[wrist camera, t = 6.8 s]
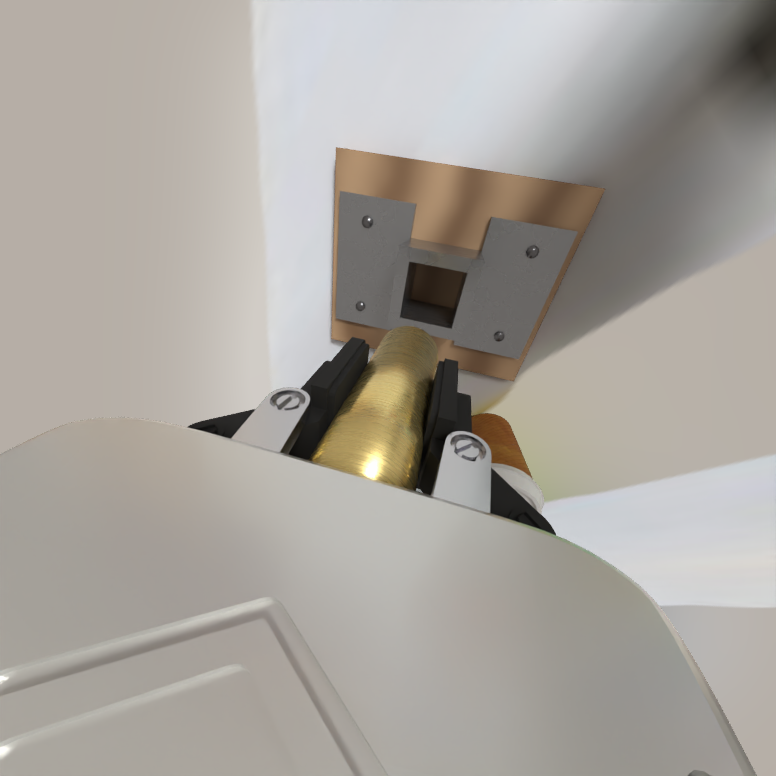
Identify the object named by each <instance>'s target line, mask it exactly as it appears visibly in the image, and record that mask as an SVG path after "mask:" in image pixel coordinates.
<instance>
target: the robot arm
mask: <svg viewBox="0 0 776 776" xmlns="http://www.w3.org/2000/svg"><path fill="white" fill-rule="evenodd" d="M368 354H369V344H366V341H365V340H364V339H359V338H355V337H352V338H351V339H350V340H349V341H348V342H347V343H346V345H345V346H344V347H343V348H342V349H341V350H340V352H339V353H338V354H337V355H336V356H335V357H334V358H333V360H332V361H331V362H330V361H326V362H324V363H323V365H322V366H321V367H320V368H319V369H318V370H317V371H316V372H315V373H314V375H313V376H312V377H311V378H310V379H309V380H308V381H307V382H306V383H305V385H304V386H303V387H302V388H301V389H298V388H291V387H288V388H281V389H277V390H275V391H273V392H271V393H270V394H269V395H268V396H267V397H266V398H265V399H264V400H263V401H262V403H261V404H260V405H259V406H258V407H257V408H256V409H255V410H249V411H245V412H240V413H236V414H231V415H227V416H223V417H218V418H214V419H209V420H205V421H201V422H198V423H195V424H192V425H190V426H188V427H183V426H179V425H175V424H171V423H167V422H161V421H154V420H149V419H138V418H125V417H122V418H121V417H120V418H96V419H87V420H80V421H75V422H71V423H68V424H65V425H62V426H59V427H57V428H54V429H52V430H50V431H47V432H45V433H43V434H41V435H39V436H36V437H34V438H32V439H30V440H28V441H26V442H24V443H22V444H20V445H18V446H16V447H14V448H12V449H10V450H8V451H6V452H4V453H2V454H0V776H757V775H756V773H755V771H754V769H753V767H752V765H751V763H750V761H749V759H748V757H747V756H746V754H745V752H744V750H743V748H742V746H741V744H740V742H739V741H738V738H737V736H736V735H735V733H734V731H733V729H732V727H731V725H730V724H729V721H728V719H727V717H726V715H725V713H724V712H723V710H722V708H721V706H720V704H719V703H718V700H717V699H716V697H715V695H714V693H713V692H712V690H711V688H710V686H709V684H708V682H707V681H706V679H705V677H704V675H703V673H702V672H701V670H700V668H699V667H698V665H697V663H696V662H695V660H694V658H693V656H692V655H691V653H690V652H689V650H688V648H687V646H686V645H685V643H684V641H683V640H682V638H681V637H680V635H679V634H678V632H677V631H676V629H675V627H674V626H673V625H672V623H671V622H670V620H669V619H668V617H667V616H666V615H665V613H664V612H663V610H662V609H661V608H660V607H659V605H658V604H657V603H656V602H655V601H654V599H653V598H652V597H651V596H650V595H649V594H648V593H647V592H646V591H645V590H644V589H643V588H642V587H641V586H639V585H638V584H637V583H636V582H634V581H633V580H632V579H631V578H629V577H628V576H627V575H625V574H624V573H623V572H621V571H620V570H619V569H617V568H616V567H614V566H613V565H611V564H609V563H608V562H606V561H605V560H603V559H601V558H600V557H598V556H596V555H595V554H593V553H592V552H590V551H588V550H586V549H584V548H582V547H580V546H578V545H576V544H574V543H572V542H570V541H568V540H566V539H563V538H561V537H558V536H556V533H555V532H554V530H553V528H552V526H551V525H550V524H549V523H548V521H547V520H546V519H545V518H544V517H543V516H542V515H541V514H540V513H539V512H538V511H537V510H536V509H535V508H534V507H532V506H531V505H530V504H529V503H528V502H527V501H526V500H525V499H524V498H523V497H522V496H521V495H520V494H519V493H518V492H517V491H516V490H515V489H514V488H512V487H511V486H510V485H509V484H508V483H507V482H506V481H505V480H504V479H503V478H502V477H501V476H500V475H499V474H498V473H497V472H496V471H495V470H494V469H492V468H491V450H490V448H489V446H488V444H487V443H486V442H485V441H484V440H483V439H481V438H480V437H478V436H477V435H475V434H472V418H471V397H470V395H466V394H462V393H458V392H457V386H458V361H455V360H451V359H446V358H445V360H444V361H440V360H439V363H438V366H437V370H436V374H435V377H434V381H433V387H432V392H431V398H430V404H429V410H428V415H427V421H426V427H425V433H424V438H423V450H422V456H421V462H420V468H419V474H418V480H417V486H416V488H418V489H421V491H422V492H423V493H420V492H417V491H413V490H410V489H407V488H403V487H400V486H396V485H393V484H389V483H386V482H382V481H379V480H375V479H372V478H368V477H365V476H361V475H358V474H354V473H351V472H347V471H344V470H340V469H337V468H333V467H330V466H326V465H323V464H319V463H316V462H312V461H309V458H310V457H311V455H312V453H313V452H314V450H315V448H316V447H317V445H318V444H319V442H320V440H321V439H322V437H323V435H324V434H325V432H326V431H327V429H328V427H329V426H330V424H331V422H332V421H333V419H334V418H335V416H336V414H337V413H338V411H339V409H340V408H341V406H342V405H343V403H344V401H345V400H346V398H347V396H348V395H349V393H350V392H351V390H352V388H353V387H354V385H355V383H356V382H357V380H358V379H359V377H360V375H361V374H362V372H363V370H364V369H365V367H366V366H367V363H368Z"/></svg>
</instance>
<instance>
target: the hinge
mask: <svg viewBox="0 0 776 776" xmlns="http://www.w3.org/2000/svg"><path fill="white" fill-rule="evenodd" d="M416 206H417V204H414V203H409V202H403V201H397V200H391V199H385V198H379V197H374V196H368V195H362V194H356V193H350V192H345V191H340V202H339V232H338V263H337V294H336V318H337V319H341V320H346V321H350V322H355V323H359V324H364V325H368V326H373V327H377V328H381V329H386V330H390V331H391V330H393V329H394V328H397V327H401V326H414V327H417V328H420V329H422V330H424V331H425V332H427V333H428V334H429V335H431V336H435V337H440V338H444V339H449V340H453V341H454V345H457V346H461V347H466V348H470V349H475V350H479V351H484V352H488V353H493V354H497V355H501V356H506V357H510V358H515V359H519V358H520V356H521V354H522V351H523V349H524V347H525V345H526V343H527V341H528V339H529V336H530V334H531V332H532V330H533V328H534V326H535V323H536V321H537V319H538V317H539V315H540V313H541V311H542V308H543V306H544V304H545V302H546V300H547V298H548V295H549V293H550V291H551V289H552V287H553V285H554V283H555V280H556V278H557V276H558V274H559V272H560V270H561V267H562V265H563V263H564V261H565V259H566V257H567V255H568V252H569V250H570V248H571V246H572V244H573V242H574V239H575V237H576V235H577V233H578V232H577V231H572V230H566V229H560V228H554V227H549V226H543V225H537V224H531V223H525V222H519V221H514V220H508V219H502V218H496V217H491V220H490V223H489V227H488V230H487V233H486V237H485V240H484V243H483V247H482V250H481V251H479V250H474V249H469V248H463V247H458V246H452V245H447V244H442V243H436V242H431V241H425V240H420V239H415V238H411V236H412V230H413V224H414V218H415V212H416ZM417 263H420V264H425V265H430V266H435V267H440V268H445V269H451V270H456V271H461V272H464V273H463V277H462V281H461V284H460V288H459V291H458V295H457V299H456V302H455V306H454V308H451V307H446V306H442V305H437V304H432V303H427V302H423V301H418V300H413V299H411V294H412V289H413V283H414V278H415V273H416V267H417Z"/></svg>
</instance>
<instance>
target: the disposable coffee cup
mask: <svg viewBox="0 0 776 776" xmlns="http://www.w3.org/2000/svg"><path fill="white" fill-rule="evenodd" d="M471 418H472V434H475V435H477V436H478V437H480V438H481V439H483V440H484V441H485V442H486V443H487V444H488V446H489V448H490V450H491V468H492V469H494V470H495V471H496V472H497V473H498V474H499V475H500V476H501V477H502V478H503V479H504V480H505V481H506V482H507V483H508V484H509V485H510V486H511V487H512V488H514V489H515V490H516V491H517V492H518V493H519V494H520V495H521V496H522V497H523V498H524V499H525V500H526V501H527V502H528V503H529V504H530V505H531V506H532V507H534V508H535V509H536V510H537V511H538V512H539V513H540V514H541V512H542V508H543V505H544V497H543V494H542V491H541V489H540V487H539V486H538V485H537V484H536V482H535V481H534V480H533V479H532V476H531V474H530V471H529V469H528V466H527V464H526V462H525V459H524V457H523V455H522V452H521V450H520V447H519V445H518V443H517V440H516V438H515V436H514V434H513V431H512V429H511V426H510V425H509V423H508V422H507V421H506V420H505V419H504V418H502V417H500V416H498V415H495V414H488V413H485V414H478V415H475V416H473V417H471Z"/></svg>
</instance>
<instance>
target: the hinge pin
mask: <svg viewBox="0 0 776 776" xmlns="http://www.w3.org/2000/svg"><path fill="white" fill-rule="evenodd" d="M437 361H438V349H437V345H436V343H435V341H434V340H433V338H432V337H431V336H430V335H429V334H428V333H427V332H425V331H424V330H422V329H420V328H417V327H414V326H401V327H397V328H394V329H393V330H391V331H390V332H388V333H387V334H386V335H385V337H384V338H383V340H382V341H381V343H380V344H379V346H378V348H377V349H376V351H375V353H374V354H373V356H372V357H371V359H370V361H369V362H368V364H367V366H366V367H365V369H364V370H363V372H362V374H361V375H360V377H359V379H358V380H357V382H356V383H355V385H354V387H353V388H352V390H351V392H350V393H349V395H348V396H347V398H346V400H345V401H344V403H343V405H342V406H341V408H340V409H339V411H338V413H337V414H336V416H335V418H334V419H333V421H332V422H331V424H330V426H329V427H328V429H327V431H326V432H325V434H324V435H323V437H322V439H321V440H320V442H319V444H318V445H317V447H316V448H315V450H314V452H313V453H312V455H311V457H310V458H309V461H312V462H316V463H319V464H323V465H326V466H330V467H333V468H337V469H340V470H344V471H347V472H351V473H354V474H358V475H361V476H365V477H368V478H372V479H375V480H379V481H382V482H386V483H389V484H393V485H396V486H400V487H403V488H407V489H410V490H413V491H416V486H417V480H418V474H419V468H420V462H421V456H422V450H423V438H424V433H425V427H426V421H427V415H428V410H429V404H430V398H431V392H432V387H433V381H434V377H435V373H436V367H437Z"/></svg>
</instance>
